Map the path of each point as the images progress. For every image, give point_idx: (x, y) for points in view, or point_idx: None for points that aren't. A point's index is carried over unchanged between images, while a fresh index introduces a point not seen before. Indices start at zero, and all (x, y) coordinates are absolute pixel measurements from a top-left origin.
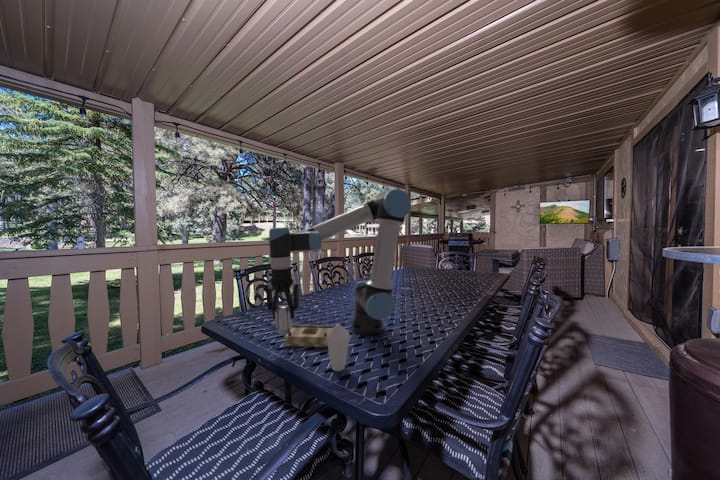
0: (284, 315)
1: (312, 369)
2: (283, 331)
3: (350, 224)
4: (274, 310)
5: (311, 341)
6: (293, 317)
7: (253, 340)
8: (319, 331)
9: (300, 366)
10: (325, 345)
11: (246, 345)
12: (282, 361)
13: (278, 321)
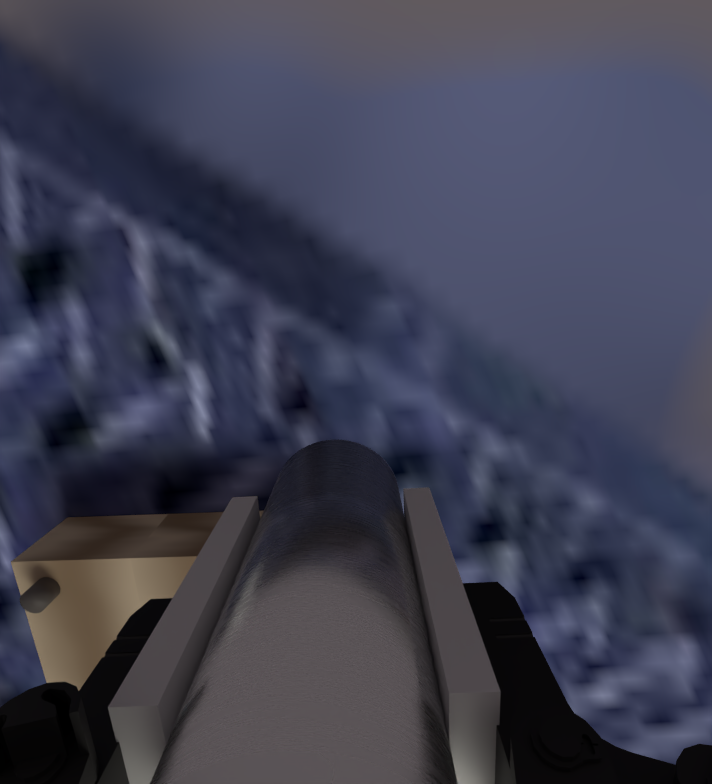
0: (250, 603)
1: (37, 191)
2: (319, 455)
3: None
4: (526, 731)
5: (171, 535)
6: (130, 618)
7: (661, 569)
8: None
9: (141, 223)
10: (82, 522)
11: (685, 491)
12: (304, 281)
13: (394, 540)
